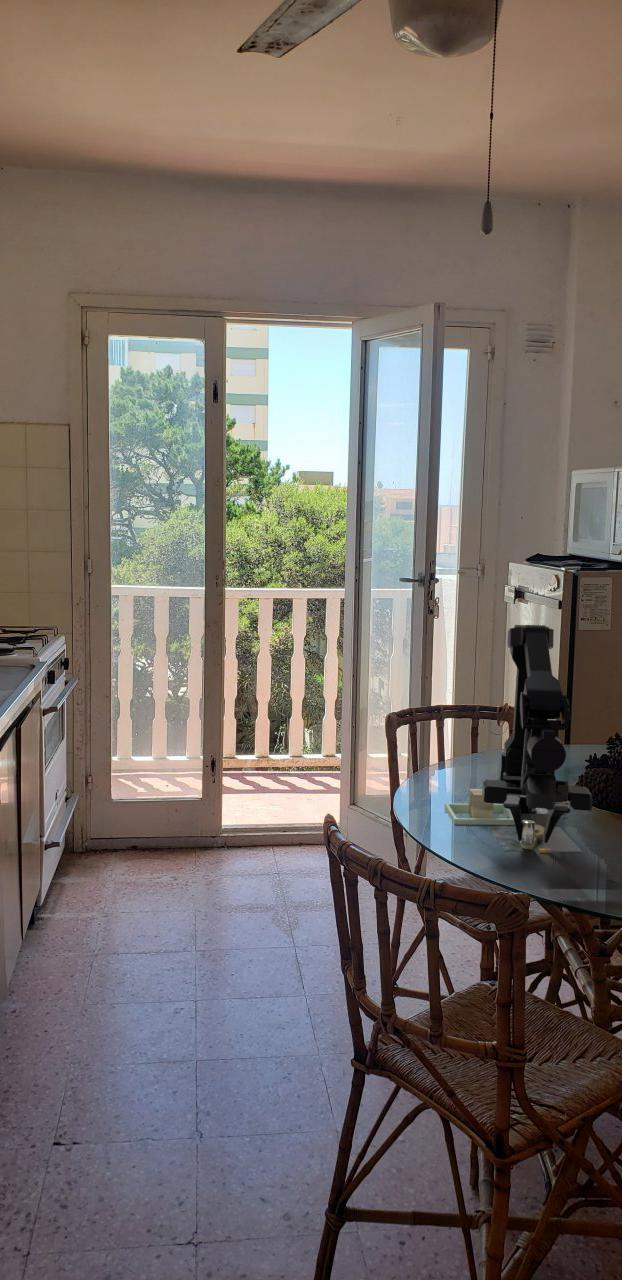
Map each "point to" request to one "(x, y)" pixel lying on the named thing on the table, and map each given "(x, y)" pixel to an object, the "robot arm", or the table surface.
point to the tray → (478, 821)
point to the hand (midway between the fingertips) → (532, 841)
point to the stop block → (479, 805)
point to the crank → (530, 834)
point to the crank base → (555, 843)
